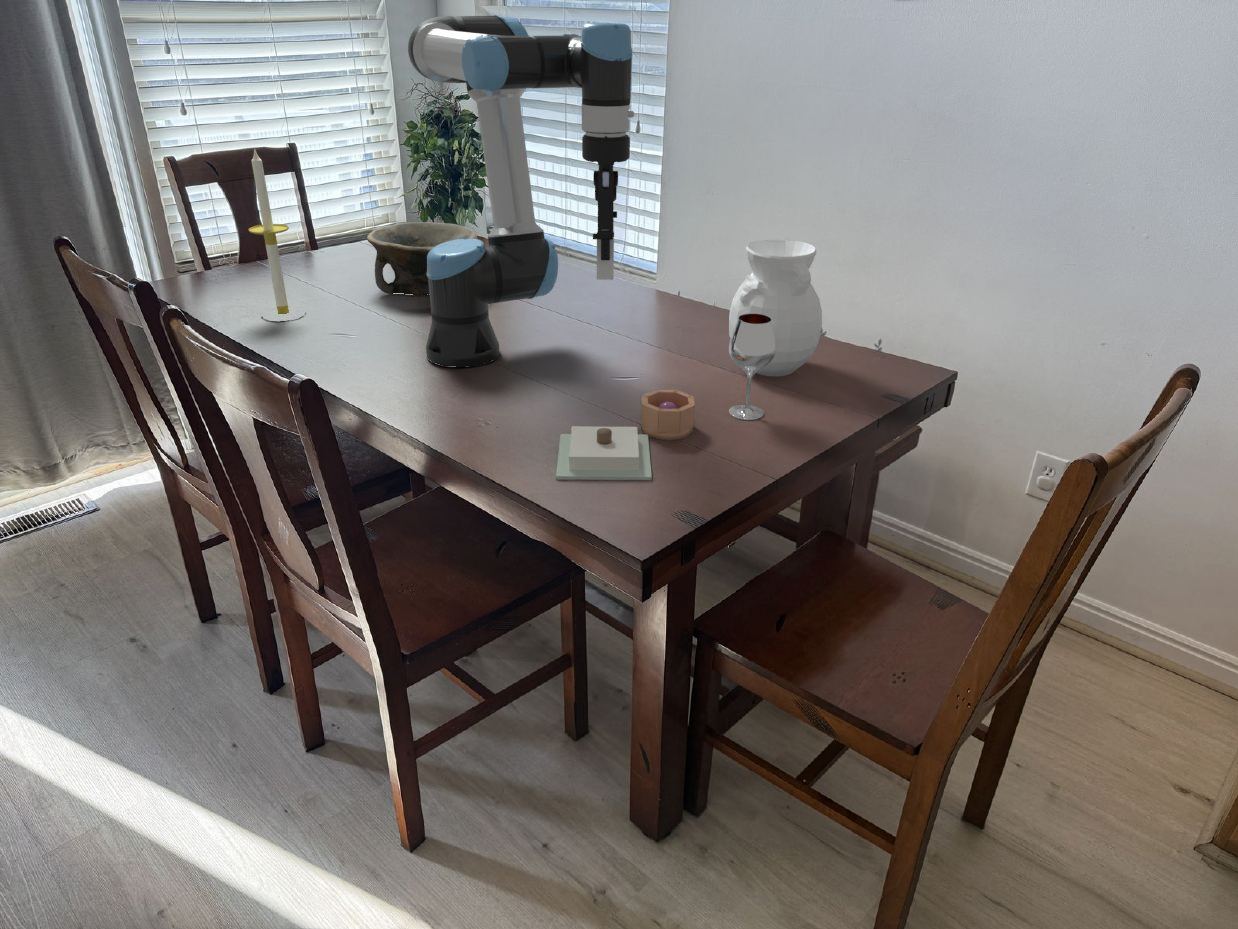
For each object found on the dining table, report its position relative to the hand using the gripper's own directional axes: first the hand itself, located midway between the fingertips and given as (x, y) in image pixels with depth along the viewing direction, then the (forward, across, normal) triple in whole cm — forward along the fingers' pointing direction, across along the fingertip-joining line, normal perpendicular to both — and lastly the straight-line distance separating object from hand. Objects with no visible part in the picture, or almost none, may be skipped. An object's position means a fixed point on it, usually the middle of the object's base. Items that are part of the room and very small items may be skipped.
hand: (605, 267), depth 145 cm
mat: (+27, -18, 0) cm, 32 cm away
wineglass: (+27, 0, -26) cm, 37 cm away
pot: (+27, -7, -11) cm, 30 cm away
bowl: (+27, +74, +46) cm, 91 cm away
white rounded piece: (+27, +22, -34) cm, 49 cm away
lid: (+26, -18, 0) cm, 32 cm away
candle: (+27, +53, +76) cm, 96 cm away
